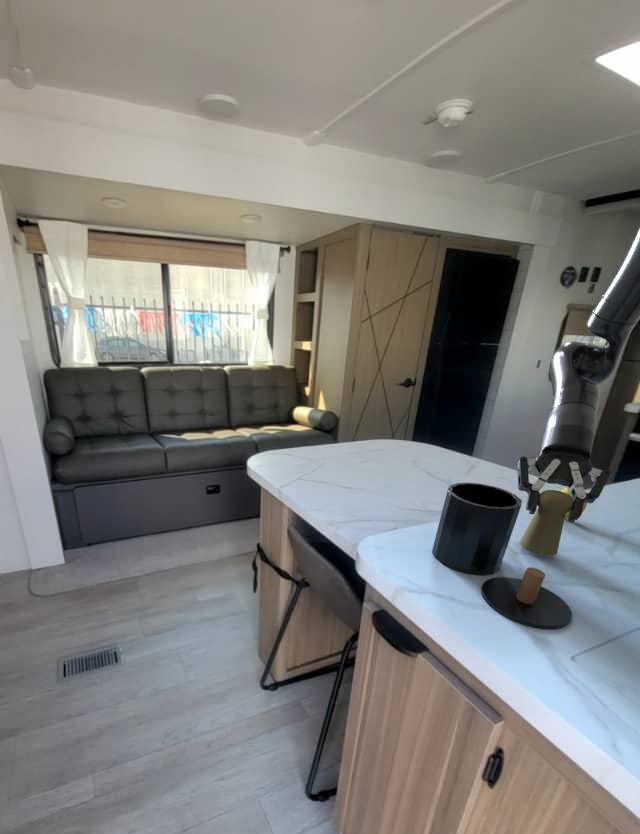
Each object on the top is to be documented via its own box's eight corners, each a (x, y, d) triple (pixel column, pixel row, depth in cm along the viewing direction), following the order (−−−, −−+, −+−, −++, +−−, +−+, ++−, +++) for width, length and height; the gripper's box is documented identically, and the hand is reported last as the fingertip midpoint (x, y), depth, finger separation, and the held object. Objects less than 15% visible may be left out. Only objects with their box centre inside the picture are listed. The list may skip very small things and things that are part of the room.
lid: (545, 587, 67) (558, 555, 64) (586, 637, 56) (604, 601, 53) (469, 579, 68) (479, 547, 65) (496, 626, 58) (509, 591, 55)
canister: (485, 548, 78) (505, 485, 72) (508, 581, 68) (534, 511, 62) (425, 542, 79) (441, 480, 73) (440, 574, 69) (458, 505, 64)
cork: (512, 543, 77) (530, 489, 72) (531, 536, 79) (550, 484, 74) (545, 558, 72) (566, 502, 67) (564, 550, 74) (586, 496, 70)
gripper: (528, 417, 75) (509, 499, 71) (626, 428, 69) (612, 518, 64) (519, 439, 82) (501, 515, 77) (608, 451, 75) (594, 534, 71)
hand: (551, 516), depth 71 cm, fingers closed on cork, 5 cm apart
